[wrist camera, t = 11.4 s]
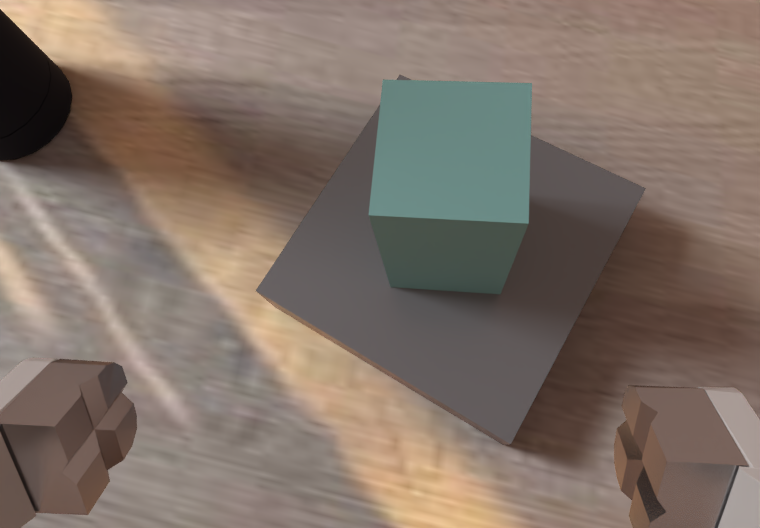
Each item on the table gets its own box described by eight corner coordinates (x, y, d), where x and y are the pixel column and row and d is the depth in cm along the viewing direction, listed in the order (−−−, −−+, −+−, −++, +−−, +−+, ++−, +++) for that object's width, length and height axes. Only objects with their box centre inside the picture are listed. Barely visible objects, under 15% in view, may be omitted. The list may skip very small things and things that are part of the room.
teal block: (500, 294, 24) (528, 223, 16) (390, 287, 25) (368, 215, 17) (503, 192, 25) (531, 83, 18) (399, 187, 26) (382, 79, 18)
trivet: (502, 444, 25) (510, 444, 22) (274, 306, 28) (255, 290, 25) (624, 215, 28) (645, 188, 25) (403, 109, 30) (399, 74, 28)
